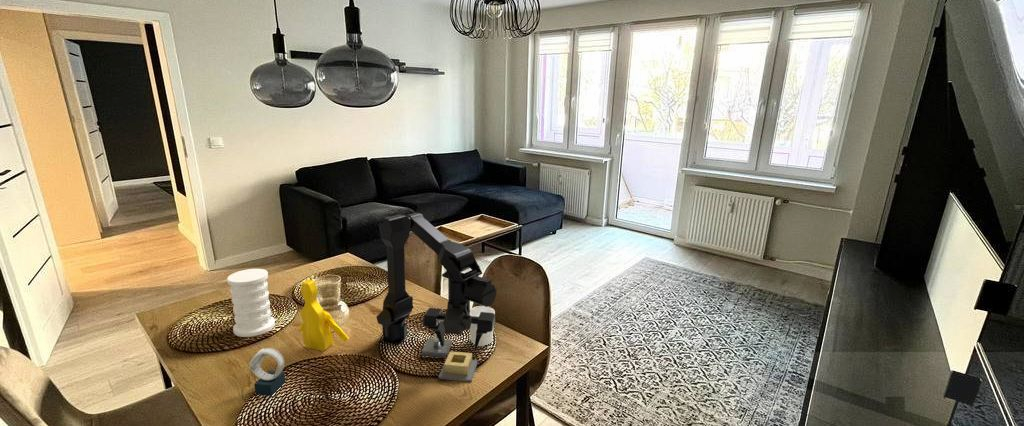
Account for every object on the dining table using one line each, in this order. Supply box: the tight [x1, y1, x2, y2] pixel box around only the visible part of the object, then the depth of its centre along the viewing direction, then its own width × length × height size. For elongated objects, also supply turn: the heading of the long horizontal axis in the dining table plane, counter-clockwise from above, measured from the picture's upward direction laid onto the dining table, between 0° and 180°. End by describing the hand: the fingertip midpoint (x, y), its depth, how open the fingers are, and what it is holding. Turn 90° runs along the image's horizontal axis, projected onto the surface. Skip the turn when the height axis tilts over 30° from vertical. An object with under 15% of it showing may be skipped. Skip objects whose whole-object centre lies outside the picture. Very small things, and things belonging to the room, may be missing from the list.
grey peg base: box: [421, 333, 452, 359], centre depth 129 cm, size 7×7×6 cm
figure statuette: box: [298, 278, 350, 352], centre depth 127 cm, size 18×8×22 cm, turn 73°
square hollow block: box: [443, 350, 473, 376], centre depth 120 cm, size 6×6×3 cm
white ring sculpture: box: [248, 347, 286, 397], centre depth 110 cm, size 6×8×11 cm
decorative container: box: [226, 268, 276, 338], centre depth 137 cm, size 12×12×18 cm
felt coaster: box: [438, 359, 479, 383], centre depth 121 cm, size 9×9×1 cm
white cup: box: [469, 305, 496, 347], centre depth 135 cm, size 8×8×10 cm
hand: (459, 347), depth 119 cm, fingers open, 9 cm apart
